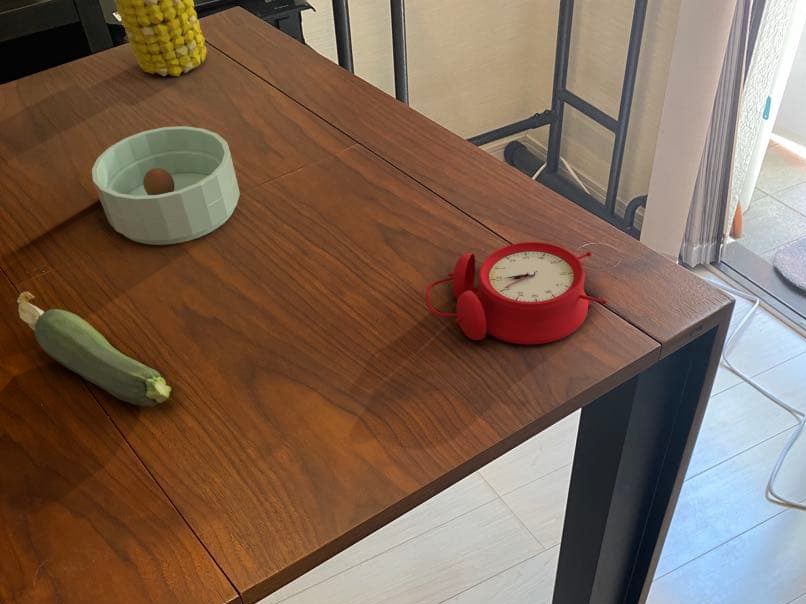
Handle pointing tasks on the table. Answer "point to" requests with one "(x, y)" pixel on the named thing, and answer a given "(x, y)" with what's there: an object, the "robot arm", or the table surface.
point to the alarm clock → (520, 294)
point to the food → (163, 34)
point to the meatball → (158, 182)
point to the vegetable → (92, 355)
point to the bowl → (193, 184)
